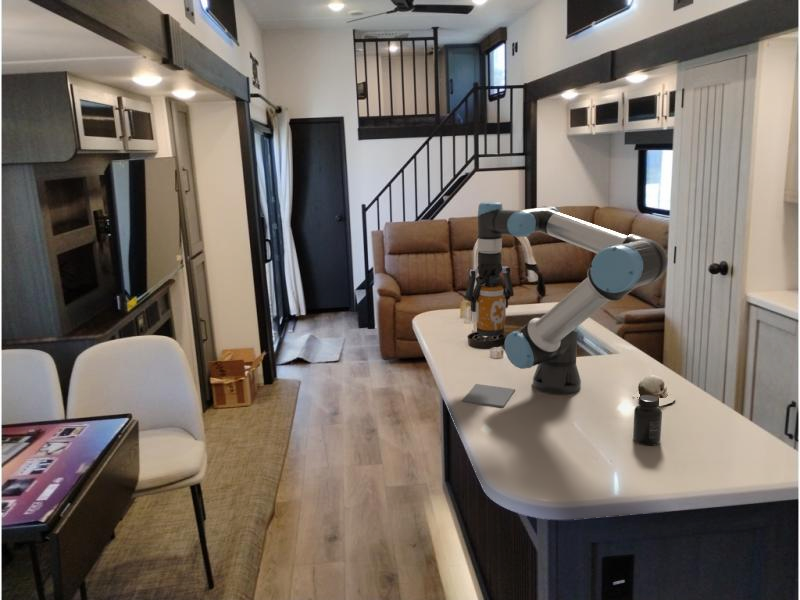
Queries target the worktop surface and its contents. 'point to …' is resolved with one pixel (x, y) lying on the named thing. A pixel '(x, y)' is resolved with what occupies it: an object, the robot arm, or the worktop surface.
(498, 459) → the worktop surface
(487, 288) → the canister
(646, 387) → the skull
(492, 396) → the mat
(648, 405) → the supplement bottle
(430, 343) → the worktop surface
